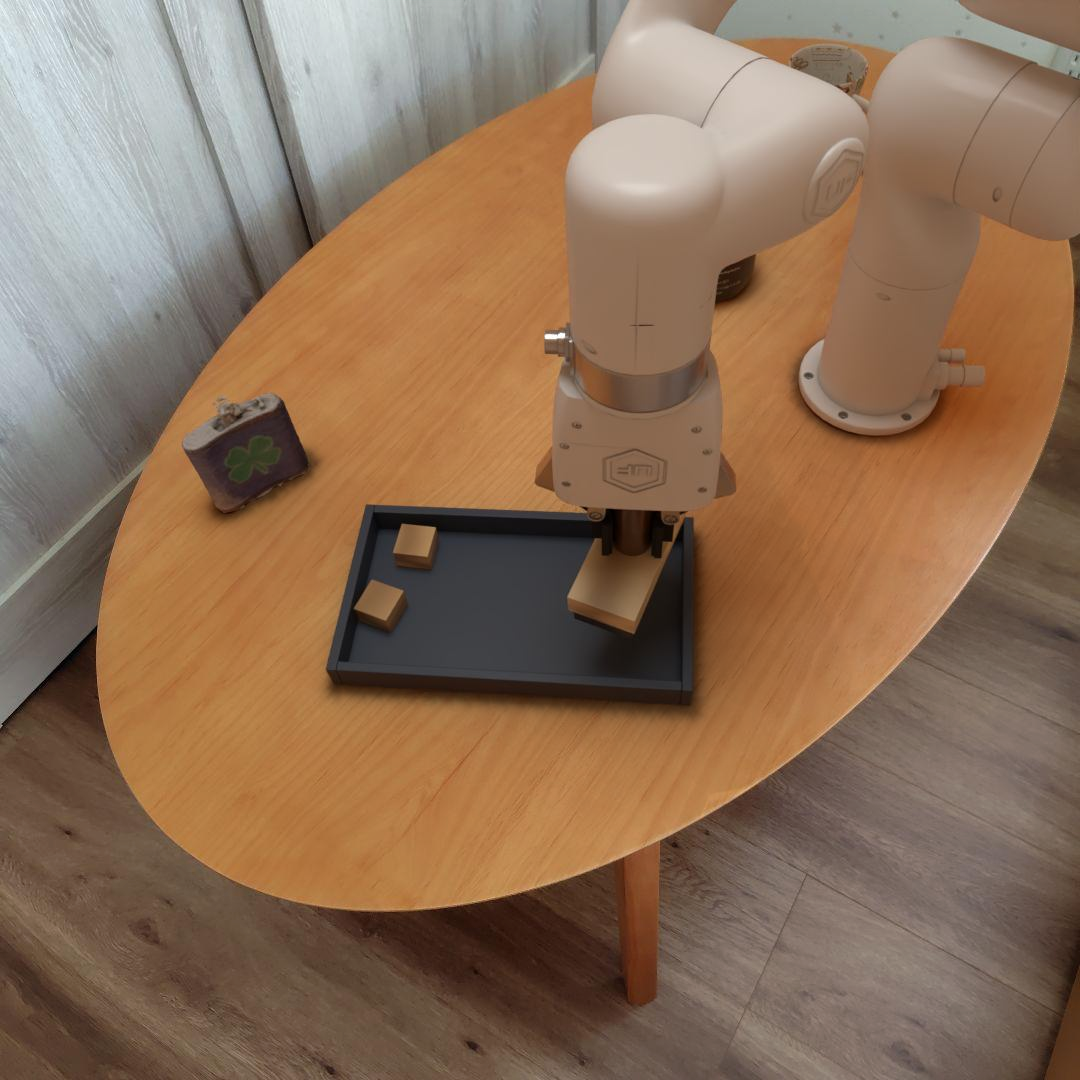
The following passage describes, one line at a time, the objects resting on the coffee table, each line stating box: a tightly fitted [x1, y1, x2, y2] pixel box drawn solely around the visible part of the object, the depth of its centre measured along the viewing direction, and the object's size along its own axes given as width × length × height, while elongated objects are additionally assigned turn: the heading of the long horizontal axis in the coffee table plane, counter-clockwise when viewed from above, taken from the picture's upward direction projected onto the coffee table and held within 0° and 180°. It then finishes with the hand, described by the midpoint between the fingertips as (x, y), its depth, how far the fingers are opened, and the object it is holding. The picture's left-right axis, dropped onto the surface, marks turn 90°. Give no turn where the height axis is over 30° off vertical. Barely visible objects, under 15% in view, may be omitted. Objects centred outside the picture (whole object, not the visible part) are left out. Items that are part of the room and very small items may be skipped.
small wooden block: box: [354, 579, 408, 633], centre depth 76 cm, size 3×3×2 cm
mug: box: [787, 43, 870, 116], centre depth 104 cm, size 8×13×10 cm, turn 43°
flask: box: [181, 392, 311, 514], centre depth 82 cm, size 9×3×11 cm, turn 125°
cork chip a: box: [393, 524, 439, 569], centre depth 79 cm, size 3×3×2 cm
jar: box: [715, 254, 757, 304], centre depth 95 cm, size 10×10×8 cm
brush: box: [567, 509, 688, 639], centre depth 66 cm, size 5×12×10 cm, turn 156°
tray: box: [325, 503, 695, 707], centre depth 76 cm, size 28×16×3 cm, turn 85°
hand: (632, 538), depth 67 cm, fingers closed on brush, 2 cm apart
